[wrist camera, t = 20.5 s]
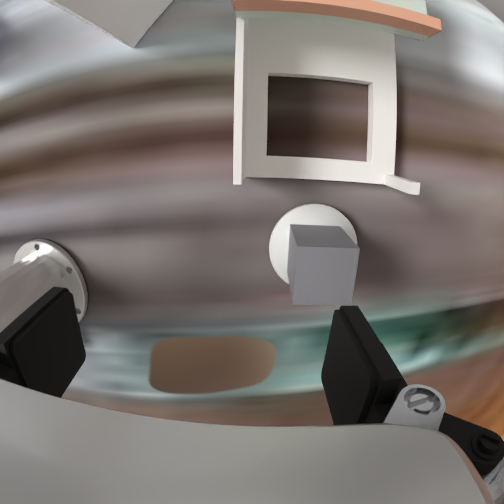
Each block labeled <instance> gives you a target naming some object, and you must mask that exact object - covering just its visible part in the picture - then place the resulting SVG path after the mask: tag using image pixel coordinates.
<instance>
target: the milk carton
mask: <svg viewBox="0 0 504 504" xmlns="http://www.w3.org/2000/svg"><path fill="white" fill-rule="evenodd" d="M45 1H47V2H49V3H51V4H53V5H55V6H57V7H59V8H61V9H63V10H64V11H66V12H68V13H70V14H72V15H74V16H75V17H77V18H79V19H81V20H83V21H84V22H86V23H88V24H90V25H91V26H93V27H95V28H97V29H99V30H101V31H103V32H105V33H106V34H108V35H110V36H112V37H114V38H115V39H117V40H119V41H121V42H123V43H124V44H126V45H128V46H130V47H131V48H133V47H135V45H136V44H137V43H138V42H139V40H140V39H141V38H142V37H143V35H144V34H145V33H146V32H147V30H148V29H149V28H150V27H151V26H152V24H153V23H154V22H155V21H156V20H157V18H158V17H159V16H160V15H161V14H162V13H163V12H164V10H165V9H166V8H167V7H168V6H169V5H170V4H171V3H172V2H173V0H45Z"/></svg>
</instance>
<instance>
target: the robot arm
mask: <svg viewBox="0 0 504 504" xmlns="http://www.w3.org/2000/svg"><path fill="white" fill-rule="evenodd" d="M87 304H88V293H87V288H86V284H85V281H84V278H83V275H82V273H81V271H80V269H79V267H78V266H77V264H76V263H75V261H74V260H73V258H72V257H71V256H70V255H69V254H68V253H67V252H66V251H65V250H64V249H63V248H61V247H60V246H59V245H57V244H55V243H53V242H51V241H48V240H45V239H35V240H32V241H30V242H27V243H26V244H24V245H23V246H22V247H21V248H20V249H19V250H18V251H17V253H16V256H15V258H14V262H13V265H12V266H11V267H9V268H7V269H6V270H4V271H3V272H1V273H0V504H504V441H503V440H502V438H501V437H500V436H499V435H498V434H497V433H495V432H493V431H491V430H488V429H486V428H483V427H480V426H478V425H475V424H472V423H470V422H467V421H465V420H462V419H460V418H457V417H455V416H452V415H450V414H447V413H445V412H444V410H445V401H444V398H443V397H442V395H441V394H440V393H439V392H438V391H436V390H435V389H433V388H431V387H429V386H425V385H421V384H414V385H409V386H408V385H407V384H406V382H405V380H404V379H403V377H402V375H401V374H400V372H399V370H398V368H397V367H396V365H395V363H394V362H393V360H392V359H391V357H390V355H389V354H388V352H387V350H386V349H385V347H384V345H383V344H382V343H381V342H380V341H379V339H378V337H377V336H376V334H375V333H374V331H373V329H372V328H371V326H370V325H369V323H368V321H367V320H366V318H365V317H364V315H363V313H362V312H361V310H360V309H359V307H358V306H341V307H340V309H339V310H335V311H334V315H333V320H332V325H331V330H330V335H329V340H328V345H327V350H326V354H325V359H324V364H323V368H322V373H321V379H322V384H323V387H324V391H325V394H326V398H327V401H328V405H329V408H330V412H331V415H332V419H333V423H334V425H327V426H296V427H261V426H234V425H218V424H205V423H194V422H184V421H175V420H168V419H160V418H153V417H147V416H140V415H135V414H129V413H123V412H118V411H113V410H108V409H104V408H99V407H95V406H90V405H86V404H82V403H78V402H74V401H70V400H67V399H63V398H61V397H62V395H63V393H64V392H65V390H66V389H67V387H68V386H69V384H70V383H71V381H72V379H73V378H74V376H75V375H76V373H77V372H78V370H79V369H80V367H81V366H82V364H83V363H84V361H85V357H86V354H85V349H84V345H83V341H82V336H81V332H80V327H79V322H80V321H81V319H82V318H83V317H84V315H85V312H86V310H87Z"/></svg>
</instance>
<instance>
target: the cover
mask: <svg viewBox="0 0 504 504" xmlns="http://www.w3.org/2000/svg"><path fill="white" fill-rule="evenodd" d="M232 3H233V7H234V11H235V16H236V18H282V19H299V20H311V21H321V22H329V23H337V24H344V25H351V26H357V27H363V28H368V29H374V30H379V31H383V32H388V33H393V34H397V35H401V36H405V37H409V38H413V39H417V40H420V41H424V40H425V39H427V38H429V37H431V36H433V35H434V34H436V33H438V32H440V31H442V27H441V20H440V19H438V18H435V17H432V16H429V15H427V9H426V2H425V0H232Z"/></svg>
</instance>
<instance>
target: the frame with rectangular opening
mask: <svg viewBox="0 0 504 504" xmlns="http://www.w3.org/2000/svg"><path fill="white" fill-rule="evenodd" d="M268 76H282V77H300V78H314V79H325V80H335V81H343V82H351V83H359V84H366V85H368V142H367V162H364V161H353V160H341V159H328V158H312V157H293V156H267V111H268ZM396 119H397V86H396V57H395V41H394V34H393V33H388V32H383V31H379V30H374V29H368V28H363V27H357V26H351V25H344V24H337V23H329V22H321V21H311V20H299V19H282V18H236V47H235V90H234V156H233V184H238V185H241V184H242V182H243V181H244V179H245V177H268V178H296V179H317V180H334V181H348V182H362V183H374V184H384V185H387V186H390V187H392V188H395V189H397V190H400V191H403V192H405V193H408V194H414V195H419V191H420V183H419V182H415V181H412V180H409V179H405V178H402V177H398V176H395V175H394V167H395V149H396Z"/></svg>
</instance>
